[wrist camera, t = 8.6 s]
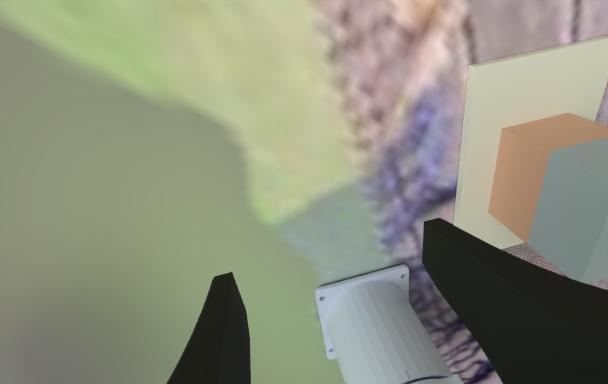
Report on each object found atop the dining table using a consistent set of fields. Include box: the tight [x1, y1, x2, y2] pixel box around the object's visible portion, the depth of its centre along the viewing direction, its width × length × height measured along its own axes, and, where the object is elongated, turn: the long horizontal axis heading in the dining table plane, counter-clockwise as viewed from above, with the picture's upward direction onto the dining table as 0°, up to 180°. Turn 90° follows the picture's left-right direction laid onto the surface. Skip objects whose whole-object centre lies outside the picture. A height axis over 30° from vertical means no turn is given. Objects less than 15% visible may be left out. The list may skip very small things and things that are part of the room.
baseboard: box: [453, 35, 608, 249], centre depth 25 cm, size 16×10×1 cm, turn 9°
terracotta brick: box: [488, 113, 608, 244], centre depth 23 cm, size 7×5×4 cm
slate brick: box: [527, 137, 608, 284], centre depth 20 cm, size 7×5×4 cm
